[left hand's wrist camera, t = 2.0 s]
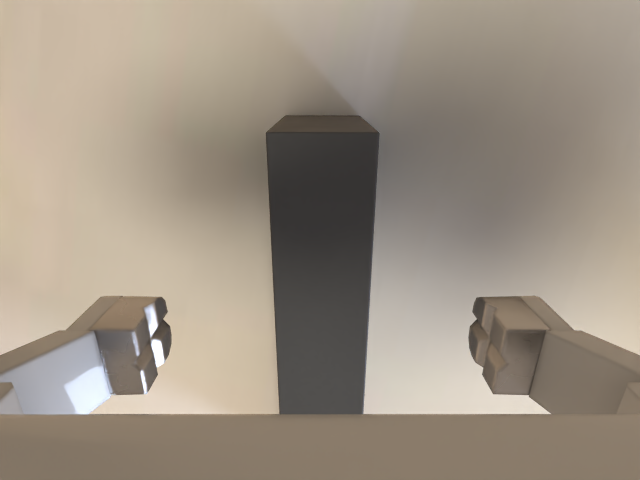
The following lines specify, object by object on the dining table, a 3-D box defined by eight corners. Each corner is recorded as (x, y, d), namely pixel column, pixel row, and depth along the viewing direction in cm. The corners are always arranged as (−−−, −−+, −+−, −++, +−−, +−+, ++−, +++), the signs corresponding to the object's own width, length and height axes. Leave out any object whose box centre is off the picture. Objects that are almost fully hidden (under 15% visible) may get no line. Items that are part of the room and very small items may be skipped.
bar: (284, 115, 24) (265, 131, 16) (360, 115, 23) (379, 132, 16) (294, 445, 34) (286, 557, 26) (347, 445, 34) (355, 557, 26)
